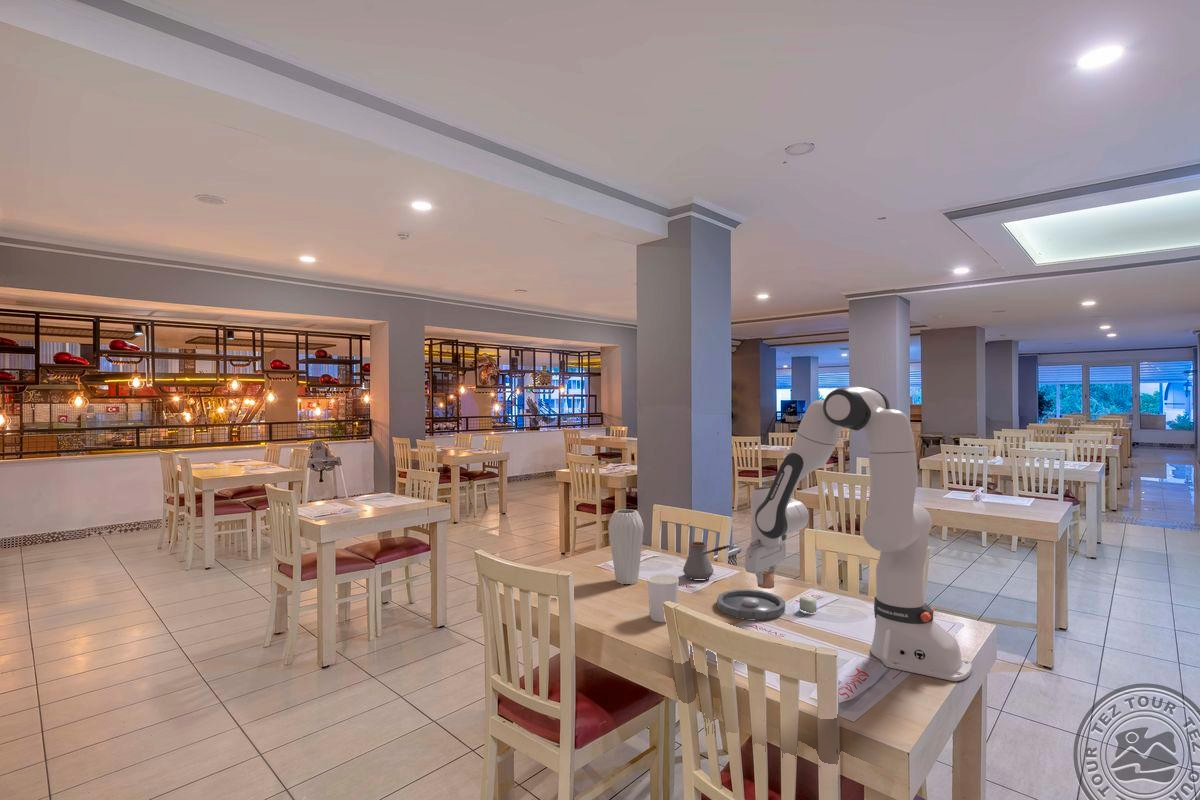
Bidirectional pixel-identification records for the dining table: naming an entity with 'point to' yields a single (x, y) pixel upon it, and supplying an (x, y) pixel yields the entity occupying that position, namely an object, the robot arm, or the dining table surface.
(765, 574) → the terracotta bead
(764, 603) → the groove tray
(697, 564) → the coffee pot
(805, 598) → the sage bead
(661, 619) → the white paper cup
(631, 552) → the vase
